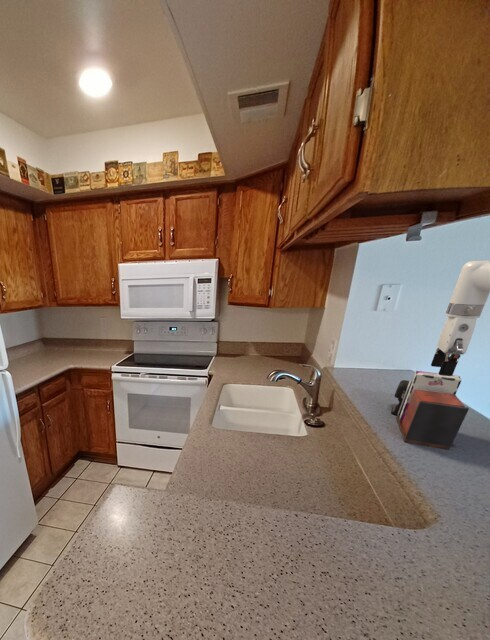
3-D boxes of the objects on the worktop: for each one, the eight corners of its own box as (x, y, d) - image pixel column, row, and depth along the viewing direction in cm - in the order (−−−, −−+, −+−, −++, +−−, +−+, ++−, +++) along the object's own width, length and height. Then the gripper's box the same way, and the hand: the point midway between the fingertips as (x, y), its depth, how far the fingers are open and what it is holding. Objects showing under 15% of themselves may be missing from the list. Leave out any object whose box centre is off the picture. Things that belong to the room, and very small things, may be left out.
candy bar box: (439, 423, 106) (460, 375, 99) (440, 430, 103) (463, 380, 95) (398, 416, 112) (415, 369, 104) (398, 421, 108) (416, 373, 100)
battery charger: (390, 407, 120) (400, 377, 115) (402, 410, 118) (413, 380, 113) (387, 414, 116) (398, 383, 110) (400, 416, 114) (412, 385, 108)
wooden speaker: (434, 424, 108) (450, 387, 102) (449, 450, 94) (469, 408, 88) (396, 418, 112) (409, 382, 106) (404, 442, 98) (420, 402, 92)
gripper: (493, 315, 82) (465, 380, 90) (470, 307, 96) (448, 364, 104) (456, 314, 85) (432, 377, 93) (439, 306, 99) (420, 362, 107)
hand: (440, 370), depth 99 cm, fingers open, 9 cm apart
